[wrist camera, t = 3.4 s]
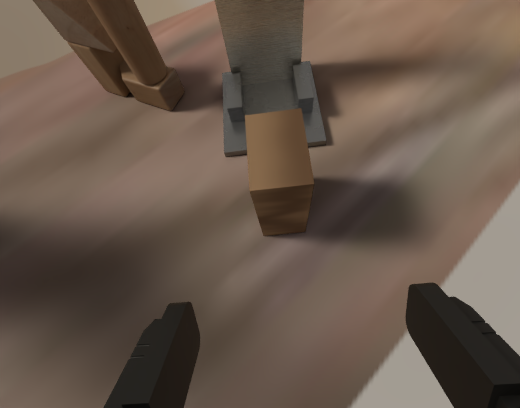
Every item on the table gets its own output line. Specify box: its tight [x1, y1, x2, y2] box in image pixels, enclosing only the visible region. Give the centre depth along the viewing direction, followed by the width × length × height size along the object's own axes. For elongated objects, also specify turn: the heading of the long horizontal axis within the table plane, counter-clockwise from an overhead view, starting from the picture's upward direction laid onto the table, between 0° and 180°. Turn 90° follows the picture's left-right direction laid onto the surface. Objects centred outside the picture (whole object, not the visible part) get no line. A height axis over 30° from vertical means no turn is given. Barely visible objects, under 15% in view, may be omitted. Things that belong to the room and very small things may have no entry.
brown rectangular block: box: [245, 108, 314, 236], centre depth 22 cm, size 4×6×10 cm, turn 4°
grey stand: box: [215, 0, 326, 157], centre depth 22 cm, size 11×13×21 cm
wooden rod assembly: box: [33, 0, 185, 111], centre depth 27 cm, size 4×11×18 cm, turn 66°
